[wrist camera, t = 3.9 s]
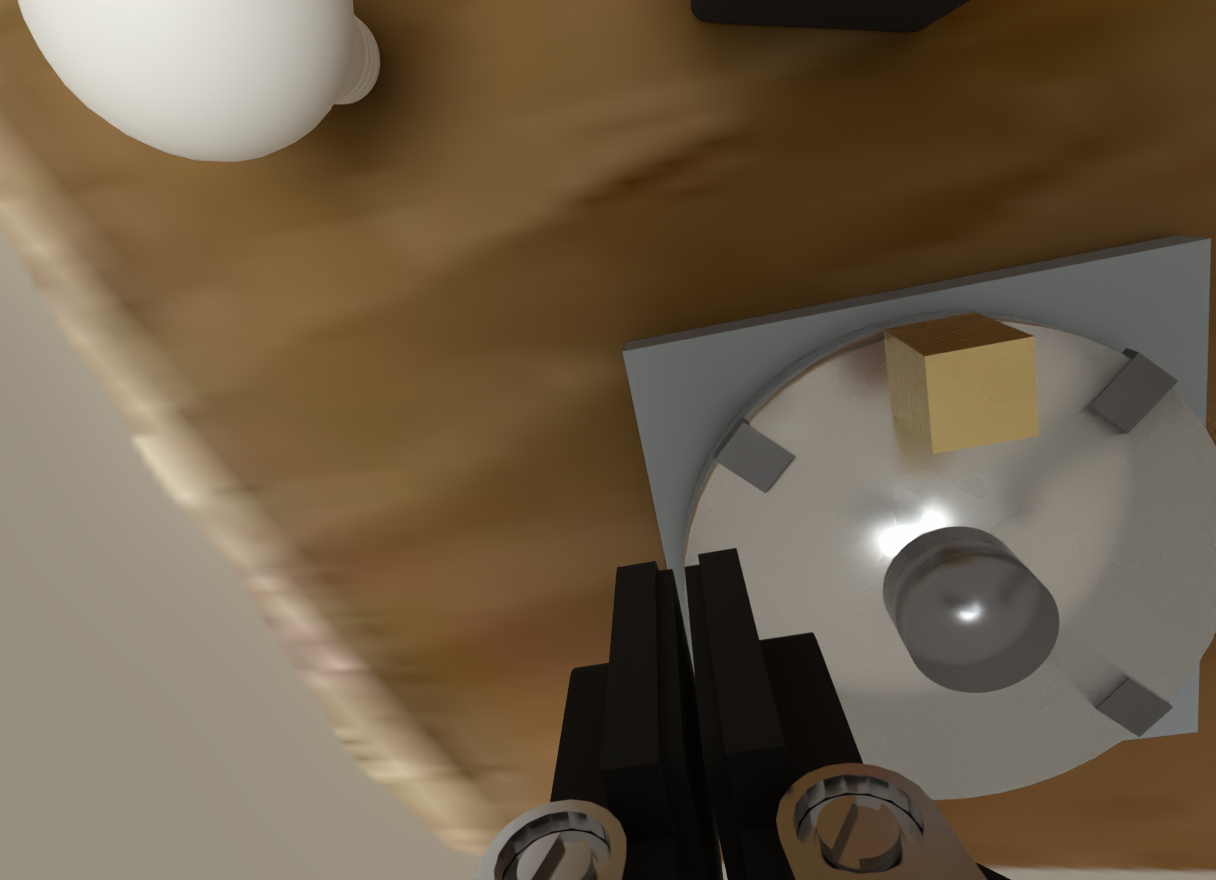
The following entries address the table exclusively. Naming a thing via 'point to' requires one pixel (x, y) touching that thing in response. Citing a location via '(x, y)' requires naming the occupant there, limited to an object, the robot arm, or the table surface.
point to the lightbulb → (208, 68)
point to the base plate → (1043, 291)
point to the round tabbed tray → (974, 540)
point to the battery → (827, 13)
